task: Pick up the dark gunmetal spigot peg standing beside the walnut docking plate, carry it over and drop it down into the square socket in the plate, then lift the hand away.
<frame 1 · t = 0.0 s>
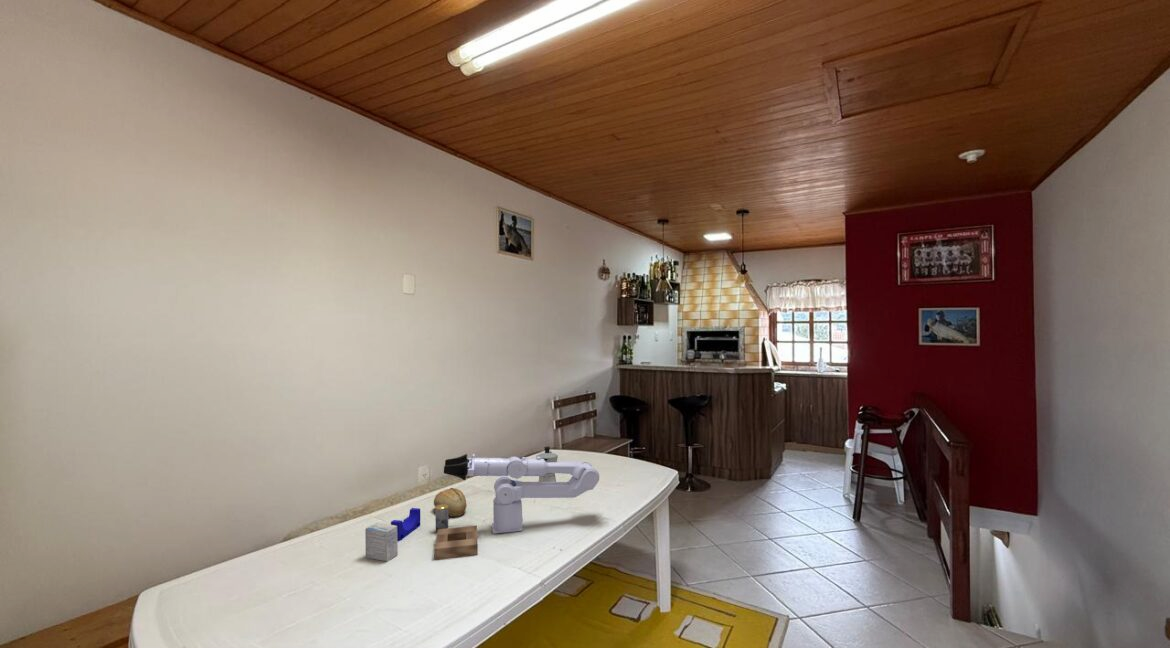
hand: (444, 466, 151), 22 cm above the table, tool horizontal, fingers open, 7 cm apart
bread roll: (450, 512, 170), on the table
medicine box: (381, 557, 136), on the table
spigot peg: (441, 531, 153), on the table
dock plate: (456, 546, 142), on the table
coffee maker: (547, 490, 193), on the table
blue cradle block: (404, 534, 152), on the table
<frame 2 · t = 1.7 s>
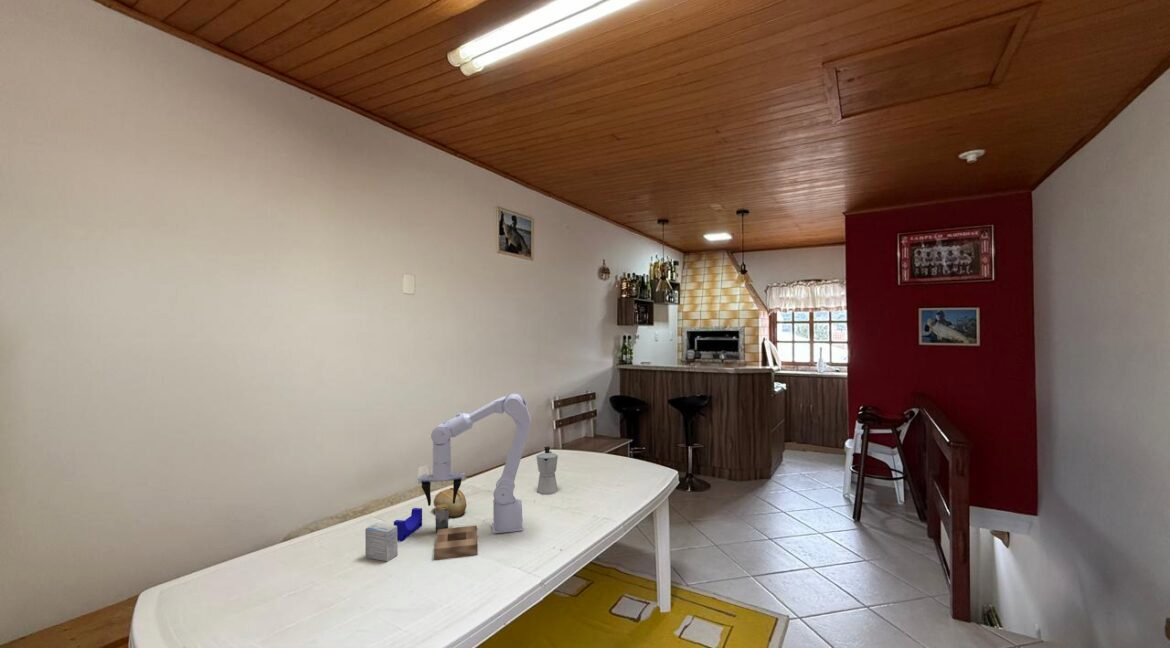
hand: (441, 503, 153), 9 cm above the table, tool pointing down, fingers open, 7 cm apart
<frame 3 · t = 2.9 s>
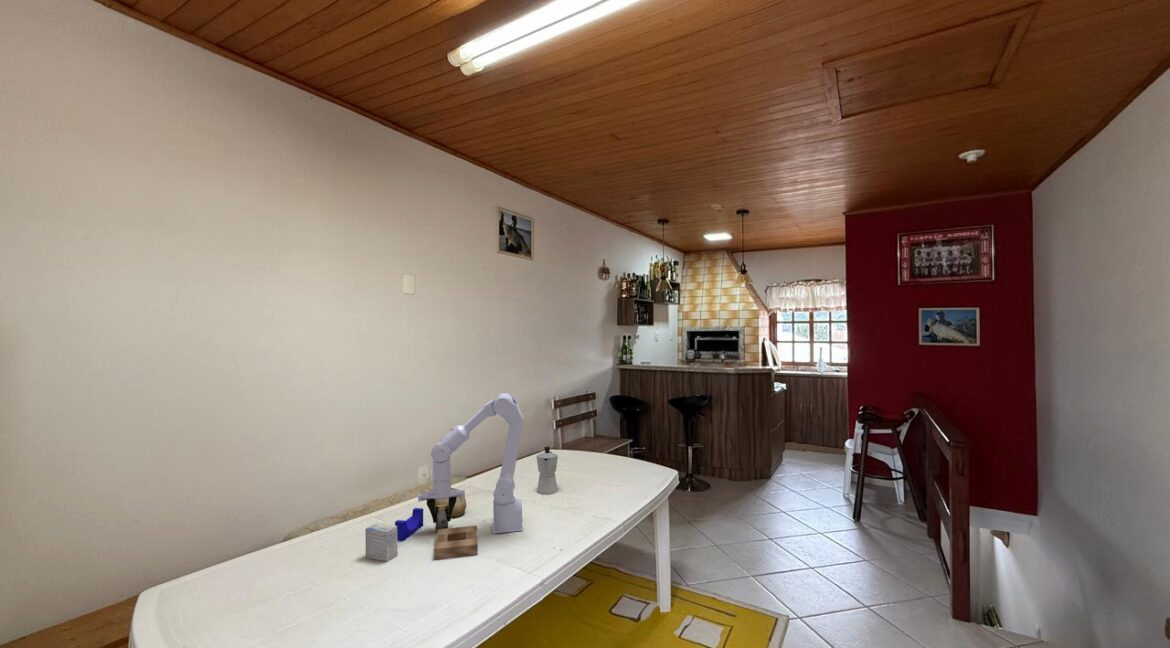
hand: (441, 521, 153), 3 cm above the table, tool pointing down, fingers closed on spigot peg, 4 cm apart
spigot peg: (441, 531, 153), on the table, touching gripper
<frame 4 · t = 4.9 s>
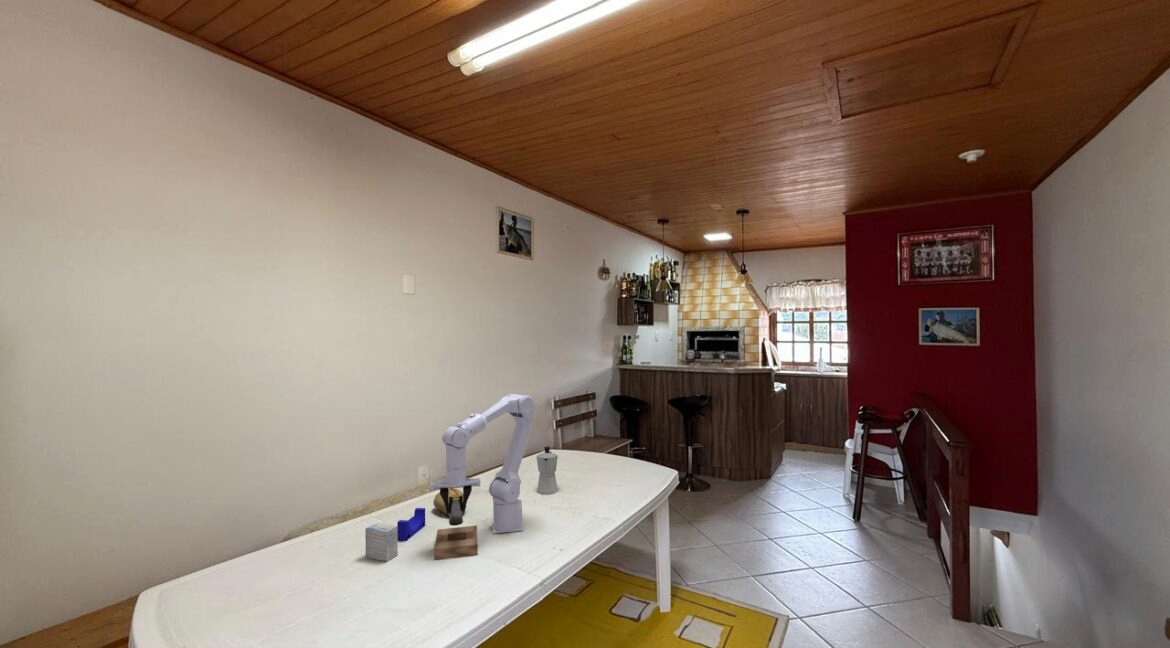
hand: (455, 511, 143), 10 cm above the table, tool pointing down, fingers closed on spigot peg, 4 cm apart
spigot peg: (455, 522, 143), point 7 cm above the table, touching gripper
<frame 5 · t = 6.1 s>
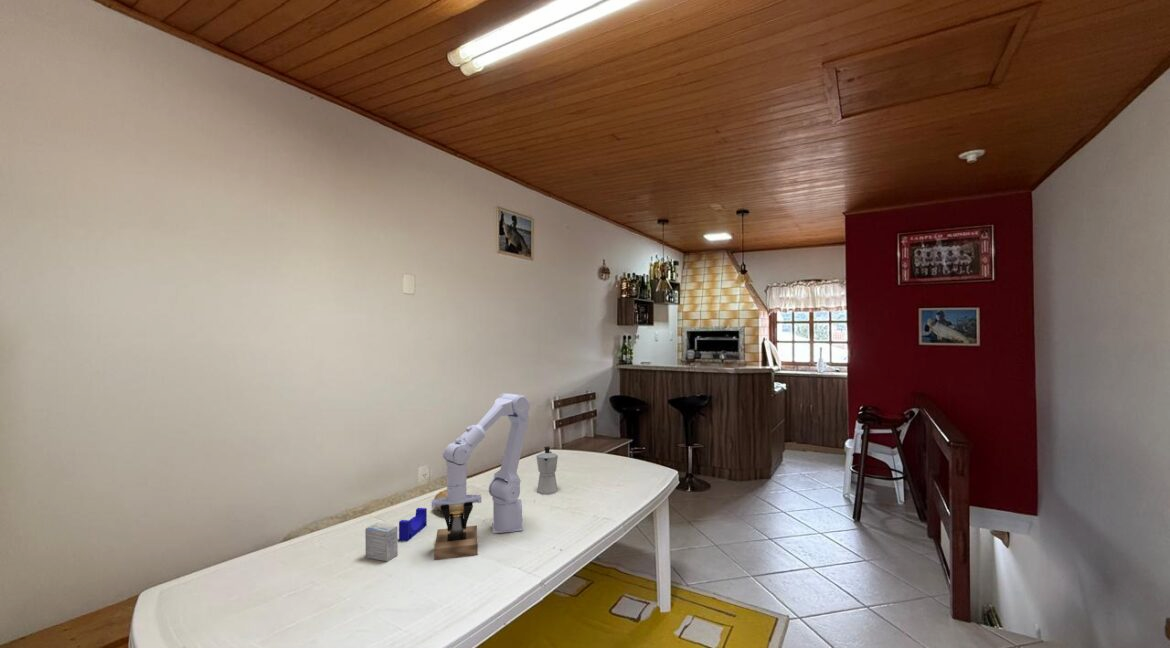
hand: (456, 528, 142), 5 cm above the table, tool pointing down, fingers closed on spigot peg, 4 cm apart
spigot peg: (456, 539, 142), point 2 cm above the table, touching gripper
when the fingers open (4 cm above the table, at t = 6.8 s): spigot peg stays where it is, resting in dock plate.
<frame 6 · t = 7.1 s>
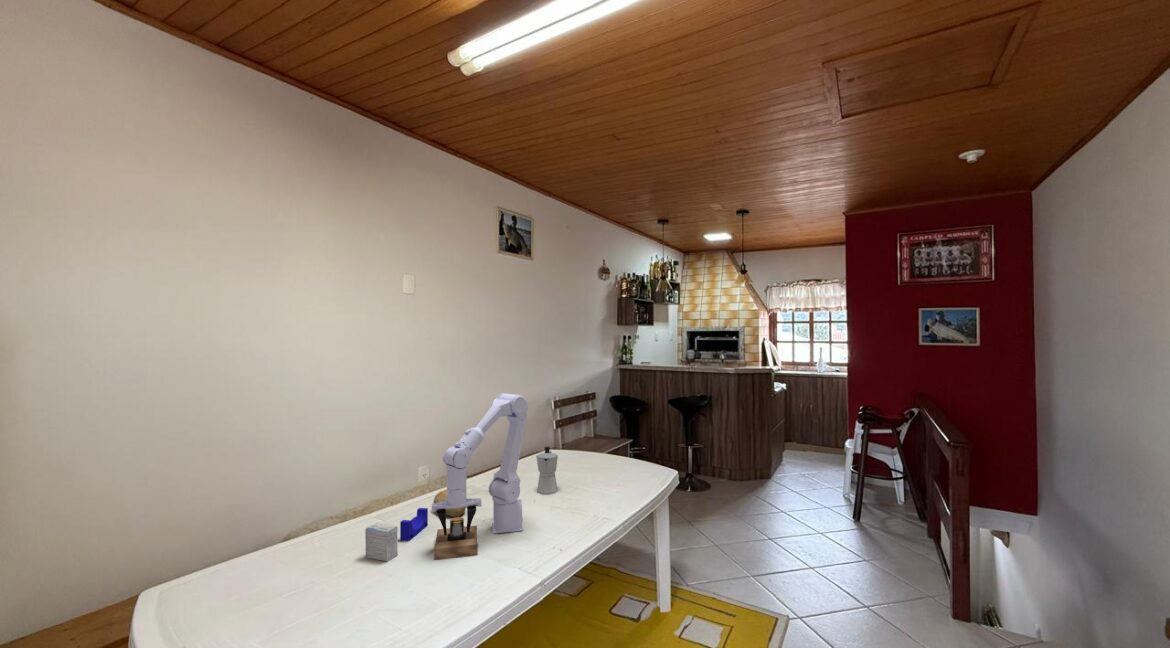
hand: (456, 532, 142), 4 cm above the table, tool pointing down, fingers open, 6 cm apart
spigot peg: (456, 546, 142), resting in dock plate
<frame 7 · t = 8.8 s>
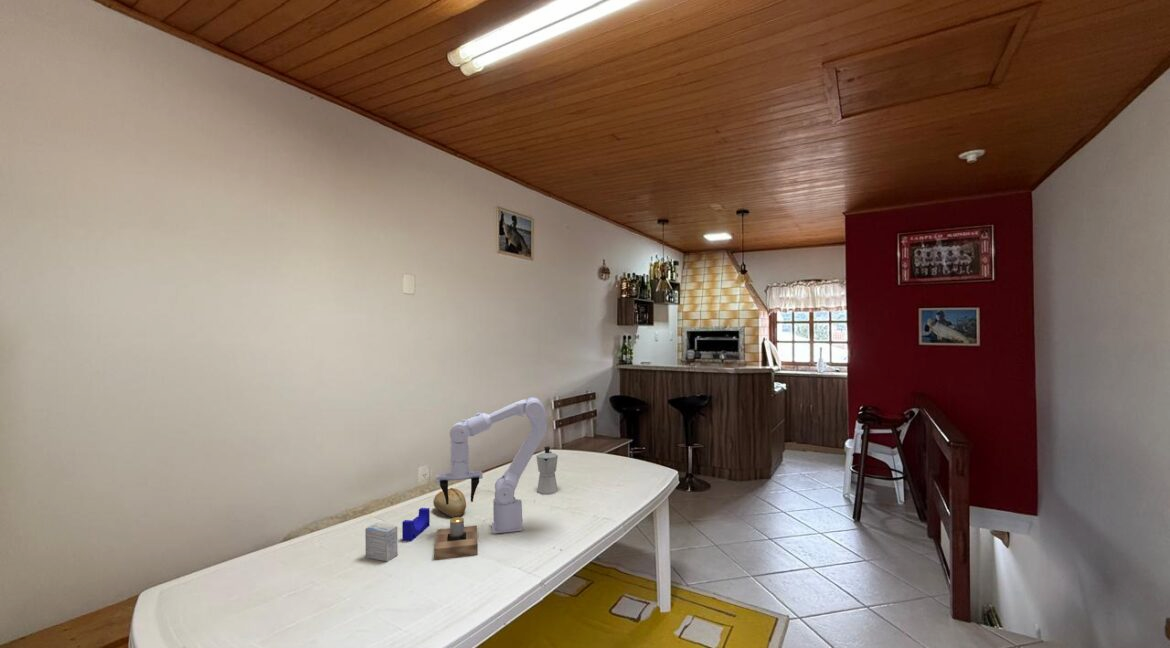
hand: (459, 502, 153), 10 cm above the table, tool pointing down, fingers open, 7 cm apart
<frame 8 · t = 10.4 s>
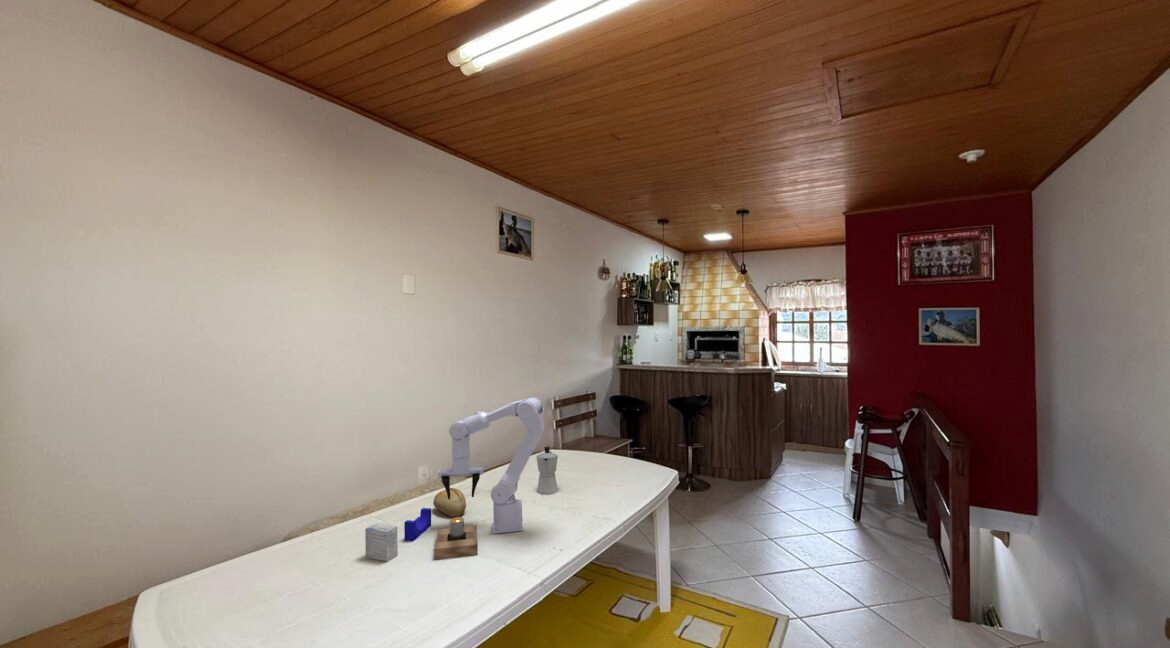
hand: (461, 497, 158), 9 cm above the table, tool pointing down, fingers open, 7 cm apart
at the end: spigot peg 0.3 cm off-centre on the dock plate, point 0.0 cm above the dock plate's base; spigot peg tilted 0°; the gripper is holding nothing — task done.
